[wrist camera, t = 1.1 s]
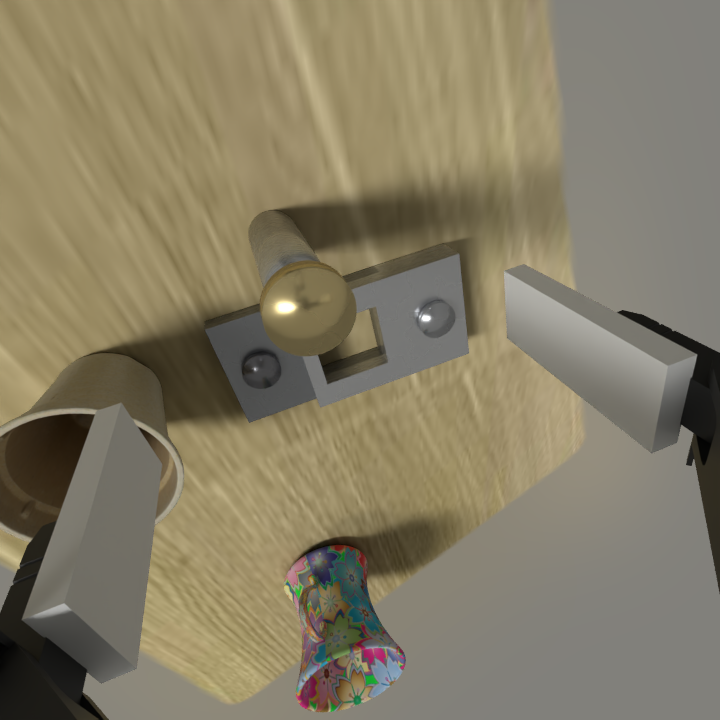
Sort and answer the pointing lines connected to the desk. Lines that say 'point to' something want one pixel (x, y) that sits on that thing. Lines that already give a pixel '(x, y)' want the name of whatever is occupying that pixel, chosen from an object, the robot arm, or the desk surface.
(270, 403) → the grey slotted base plate
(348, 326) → the pin
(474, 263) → the desk surface
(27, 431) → the flower pot
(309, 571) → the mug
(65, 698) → the robot arm
